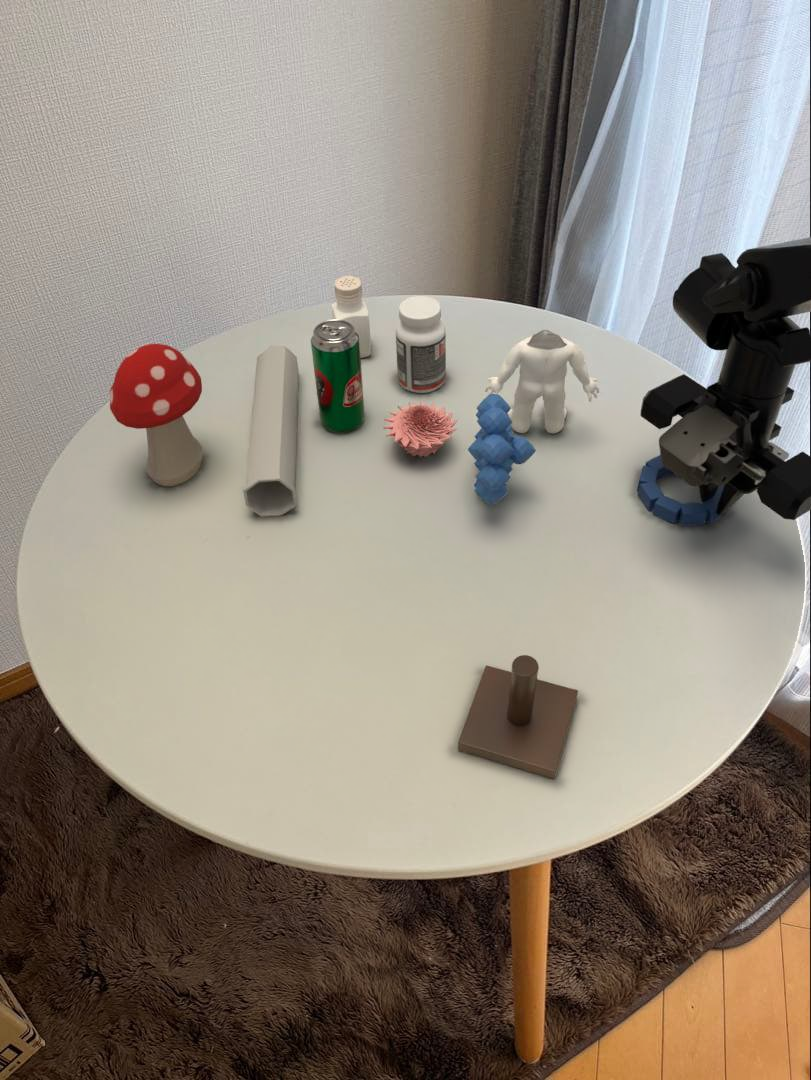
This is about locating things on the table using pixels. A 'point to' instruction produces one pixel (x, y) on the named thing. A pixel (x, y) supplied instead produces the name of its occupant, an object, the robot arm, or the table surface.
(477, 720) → the post
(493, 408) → the grapes
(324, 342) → the soda can
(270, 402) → the tube
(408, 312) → the pill bottle
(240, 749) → the table surface
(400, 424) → the flower
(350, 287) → the pepper shaker
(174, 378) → the decorative mushroom
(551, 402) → the toy creature
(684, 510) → the ring
